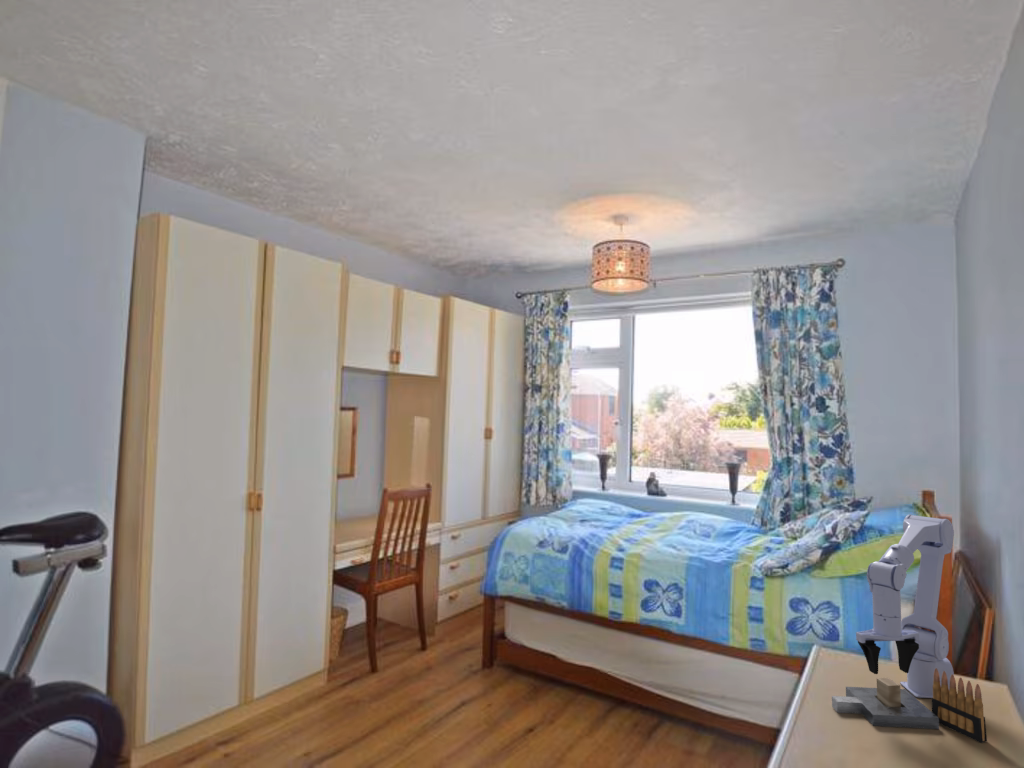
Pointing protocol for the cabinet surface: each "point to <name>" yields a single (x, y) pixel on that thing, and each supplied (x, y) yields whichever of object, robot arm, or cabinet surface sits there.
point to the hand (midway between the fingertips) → (888, 671)
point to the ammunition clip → (959, 707)
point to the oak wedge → (888, 692)
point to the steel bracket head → (885, 709)
